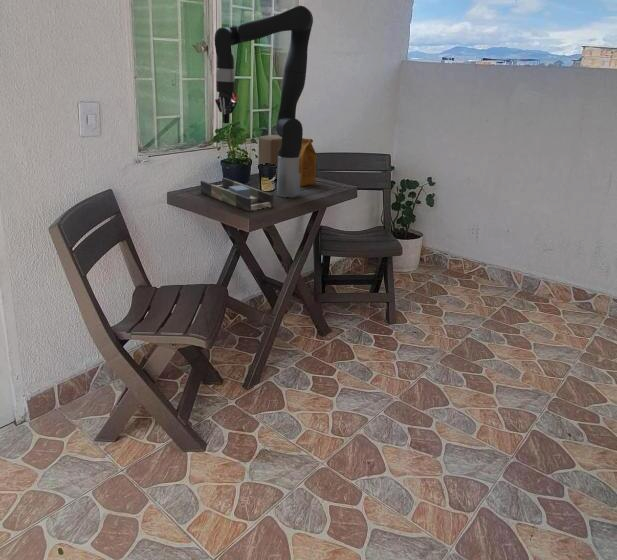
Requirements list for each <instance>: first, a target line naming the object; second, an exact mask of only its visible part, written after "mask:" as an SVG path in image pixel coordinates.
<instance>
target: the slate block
mask: <svg viewBox="0 0 617 560" xmlns="http://www.w3.org/2000/svg"><path fill="white" fill-rule="evenodd" d="M229 191H232V192H234V193H237V194H240V195H242V196H245V197H248V198H250V189H249V188H247V187H244V186H242V185H240V186H231V187H229Z"/></svg>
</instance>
